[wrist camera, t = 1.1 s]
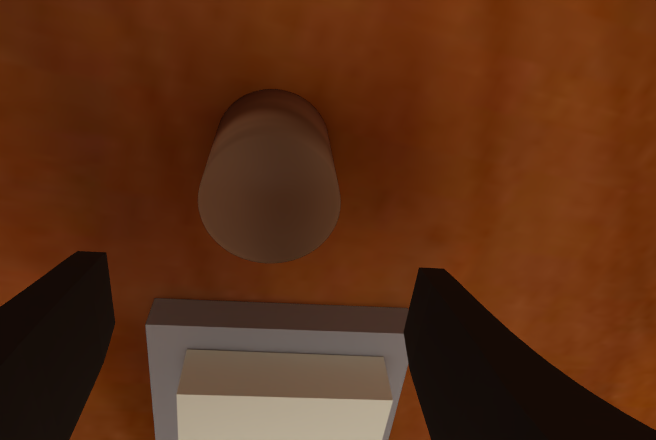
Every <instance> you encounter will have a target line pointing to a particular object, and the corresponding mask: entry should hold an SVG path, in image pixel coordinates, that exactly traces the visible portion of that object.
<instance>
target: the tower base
mask: <svg viewBox="0 0 656 440" xmlns="http://www.w3.org/2000/svg"><path fill="white" fill-rule="evenodd" d="M407 315H408V308H391V307H366V306H340V305H314V304H289V303H263V302H237V301H211V300H186V299H160V298H155V299H154V302H153V304H152V307H151V310H150V313H149V316H148V319H147V322H146V324H145V325H146V336H147V348H148V359H149V370H150V382H151V393H152V404H153V416H154V427H155V438H156V440H178V422H177V395H176V394H177V390H178V386H179V381H180V377H181V373H182V368H183V364H184V359H185V355H186V351H187V349H192V350H217V351H243V352H269V353H295V354H320V355H346V356H372V357H384V361H385V366H386V371H387V375H388V380H389V384H390V389H391V393H392V398H393V402H392V406H391V410H390V413H389V417H388V421H387V424H386V428H385V431H384V435H383V439H382V440H388V439H389V435H390V431H391V427H392V424H393V420H394V416H395V412H396V408H397V404H398V401H399V397H400V393H401V389H402V385H403V381H404V378H405V374H406V370H407V366H408V357H407V352H406V345H405V339H404V333H403V332H404V328H405V323H406V319H407Z"/></svg>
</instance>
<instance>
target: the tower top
mask: <svg viewBox="0 0 656 440" xmlns="http://www.w3.org/2000/svg"><path fill="white" fill-rule="evenodd" d="M176 395H177V422H178V440H382V439H383V435H384V431H385V428H386V424H387V421H388V417H389V413H390V410H391V406H392V402H393V398H392V393H391V389H390V384H389V380H388V375H387V371H386V366H385V361H384V357H372V356H346V355H320V354H295V353H269V352H243V351H217V350H192V349H187V351H186V355H185V359H184V364H183V368H182V373H181V377H180V381H179V386H178V390H177V394H176Z"/></svg>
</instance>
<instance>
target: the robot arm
mask: <svg viewBox="0 0 656 440" xmlns="http://www.w3.org/2000/svg"><path fill="white" fill-rule="evenodd" d="M114 325H115V317H114V309H113V302H112V294H111V286H110V278H109V270H108V263H107V255H106V252H85V251H77V252H76V253H74V254H73V255H71V256H70V257H68V258H67V259H66V260H64V261H63V262H61V263H60V264H59V265H57V266H56V267H55V268H53V269H52V270H51V271H49V272H48V273H47V274H45V275H44V276H43V277H41V278H40V279H39V280H37V281H36V282H34V283H33V284H32V285H30V286H29V287H27V288H26V289H25V290H23V291H22V292H21V293H19V294H18V295H16V296H15V297H14V298H12V299H11V300H9V301H8V302H7V303H5V304H4V305H2V306H1V307H0V440H69V439H70V437H71V435H72V432H73V430H74V428H75V426H76V424H77V421H78V419H79V417H80V415H81V412H82V410H83V408H84V406H85V404H86V401H87V399H88V397H89V395H90V392H91V390H92V388H93V386H94V383H95V381H96V379H97V377H98V374H99V372H100V370H101V367H102V365H103V363H104V359H105V356H106V353H107V350H108V346H109V343H110V339H111V336H112V332H113V329H114ZM403 333H404V339H405V345H406V352H407V357H408V363H409V368H410V372H411V376H412V379H413V382H414V386H415V389H416V392H417V395H418V399H419V402H420V405H421V408H422V412H423V415H424V418H425V421H426V424H427V428H428V431H429V434H430V437H431V440H656V430H654V429H652V428H650V427H648V426H647V425H645V424H643V423H641V422H640V421H638V420H636V419H634V418H632V417H631V416H629V415H627V414H625V413H624V412H622V411H621V410H619V409H617V408H616V407H614V406H612V405H611V404H609V403H608V402H606V401H604V400H603V399H601V398H599V397H598V396H596V395H595V394H593V393H592V392H590V391H589V390H587V389H586V388H584V387H583V386H581V385H579V384H578V383H577V382H575V381H574V380H572V379H571V378H570V377H568V376H567V375H565V374H564V373H563V372H561V371H560V370H558V369H557V368H556V367H554V366H553V365H551V364H550V363H549V362H548V361H546V360H545V359H544V358H542V357H541V356H540V355H538V354H537V353H536V352H535V351H534V350H532V349H531V348H530V347H529V346H528V345H526V344H525V343H524V342H523V341H522V340H520V339H519V338H518V337H517V336H516V335H514V334H513V333H512V332H511V331H510V330H509V329H508V328H506V327H505V326H504V325H503V324H502V323H501V322H500V321H499V320H498V319H496V318H495V317H494V316H493V315H492V314H491V313H490V312H489V311H488V310H487V309H486V308H485V307H484V306H483V305H482V304H480V303H479V302H478V301H477V300H476V299H475V298H474V297H473V296H472V295H471V294H470V293H469V292H468V291H467V290H466V289H465V288H464V287H463V286H462V285H461V284H460V283H459V282H458V281H457V280H456V279H455V278H453V277H452V276H451V275H450V274H449V273H448V272H447V271H446V270H445V269H438V268H419V270H418V274H417V278H416V283H415V287H414V291H413V295H412V299H411V303H410V307H409V311H408V315H407V319H406V323H405V328H404V332H403Z"/></svg>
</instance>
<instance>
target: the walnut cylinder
mask: <svg viewBox="0 0 656 440" xmlns="http://www.w3.org/2000/svg"><path fill="white" fill-rule="evenodd" d="M340 205H341V199H340V191H339V186H338V181H337V176H336V171H335V166H334V161H333V157H332V152H331V147H330V142H329V137H328V132H327V128H326V126H325V123H324V121H323V119H322V117H321V115H320V114H319V113H318V111H317V110H316V109H315V108H314V107H313V106H312V105H311V104H310V103H309V102H308V101H306V100H305V99H303V98H302V97H300V96H298V95H296V94H294V93H291V92H288V91H284V90H278V89H265V90H259V91H255V92H252V93H249V94H246V95H245V96H243V97H241V98H239V99H238V100H237V101H235V102H234V103H233V104H232V105H231V106H230V107H229V108H228V109H227V111H226V112H225V113H224V115H223V117H222V119H221V121H220V124H219V126H218V129H217V132H216V136H215V139H214V142H213V145H212V148H211V151H210V155H209V158H208V161H207V164H206V167H205V170H204V174H203V177H202V180H201V183H200V187H199V192H198V208H199V213H200V217H201V219H202V222H203V224H204V226H205V228H206V230H207V231H208V233H209V234H210V235H211V237H212V238H213V239H214V240H215V241H216V242H217V243H218V244H219V245H220V246H222V247H223V248H224V249H225V250H227V251H229V252H230V253H232V254H234V255H236V256H238V257H240V258H243V259H246V260H249V261H254V262H259V263H282V262H287V261H292V260H295V259H298V258H301V257H303V256H305V255H307V254H309V253H310V252H312V251H314V250H315V249H316V248H318V247H319V246H320V245H321V244H322V243H323V242H324V241H325V240H326V239H327V238H328V237H329V235H330V234H331V232H332V231H333V229H334V227H335V225H336V223H337V220H338V217H339V213H340Z"/></svg>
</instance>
